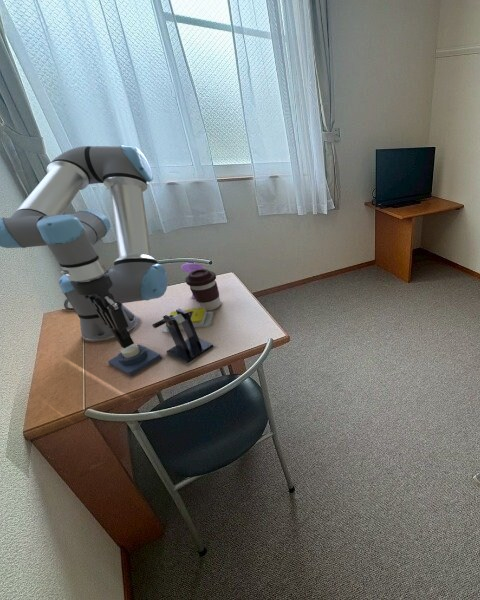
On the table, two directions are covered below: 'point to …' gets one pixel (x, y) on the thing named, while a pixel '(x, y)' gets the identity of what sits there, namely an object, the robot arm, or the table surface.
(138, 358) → the button block
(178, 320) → the lever
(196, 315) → the yellow grey flat box
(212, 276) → the coffee cup
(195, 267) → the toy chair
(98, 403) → the table surface
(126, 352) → the button
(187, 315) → the stand
